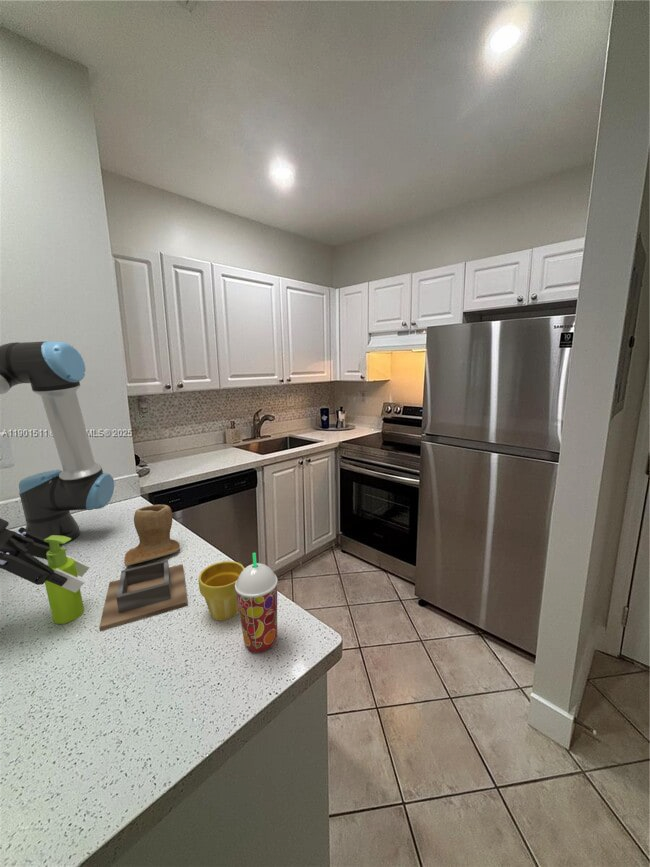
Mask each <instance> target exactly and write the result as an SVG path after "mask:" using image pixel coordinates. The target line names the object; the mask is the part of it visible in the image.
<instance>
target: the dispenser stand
mask: <svg viewBox="0 0 650 867" xmlns="http://www.w3.org/2000/svg"><path fill="white" fill-rule="evenodd" d="M184 572H185V571H184V564H178V565H173V566H170V565H169V560H168V559H166V560H161V561H157V562H153V563H147V564H144V565H141V566H140V565H139V566H135V567H131V568H128V569H127V568H126V569H123V570H121V571H120V577H119V579H116V580H112V581H109V584H108V587H107V593H106V596H105V599H104V600H105V601H104V605H103V610H102V614H101V618H100V622H99V626H98V627H99V628H98V629H99V632H101V631H105V630H108V629H109V630H110V629H111V628H115V627H118V626H122V625H125V624H130V623H132V622H136V621H139V619H140V620H143V619H145V618H149V617H153V616H157V615H160V614H163V613H166V612H170V611H174V610H177V609H180V608H184V607H186V606H187V607H188V600H187V599H188V598H187V590H186V582H185V581H186V580H185V573H184ZM142 618H143V619H142Z"/></svg>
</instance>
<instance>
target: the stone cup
mask: <svg viewBox="0 0 650 867" xmlns="http://www.w3.org/2000/svg"><path fill="white" fill-rule="evenodd" d="M133 524H134V529H135V530H136V533H137V536H138V540H139V542H138V545H137V546H135V547H133V548H129V549H128V550H127V551H126V552H125V555H124V560H123V561H124V566H125V567H129V566H132V565H136V564H140V563H144V562H148V561H152V560H155V559H159V558H162V557H165V556H168V555H171V554H174V553H176V552H178V551H179V550H180V548H181V547H180V543H179V541H177V540H175V539H172V538H171V529H172V527H173V526H172V525H173V512H172V508H171V507H170V506H169V505H167V504H153V505H152V504H151V505H147V506H142V507H139V508H138V509H136V510H135V512H134V515H133Z"/></svg>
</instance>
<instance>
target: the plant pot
mask: <svg viewBox="0 0 650 867" xmlns="http://www.w3.org/2000/svg"><path fill="white" fill-rule="evenodd" d="M245 568H246V567H245V566H244V565H243V564H242V563H241V562H237V561H234V560H233V561H232V560H227V561H226V560H224V561H219V562H218V561H217V562H215V563H212V564H210V565H208V566H207V567H205V568H204V569H203V570H202V571H201V572H200V573H199V575H198V588H199V593H200V595H201V597H203V598H204V600H205V603H206V606H207V609H208V612H209V614H210V617H211V618H212V619H213V620H216V621H226V620H230V619H232V618H234V617H235V616H236V615H238V613H239V608H238V602H237V596H236V590H235V583H236V581H237V580H238V577H239V575H240V573H241V572H242V571H243V570H244V569H245Z"/></svg>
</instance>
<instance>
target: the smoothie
mask: <svg viewBox="0 0 650 867" xmlns="http://www.w3.org/2000/svg"><path fill="white" fill-rule="evenodd" d="M244 568H245V569H244V570H243V571H242V572H241V573H240V575H239V577H238V580H237V581H236V583H235V590H236V596H237V602H238V608H239V612H238V613H239V618H240V620H239V621H240V626H241V631H242V637H243V642H244V644H245V645H246V647H247V648H248V650H250V651H252V652H253V653H262V652H267V651H268V650H269V649H271V648H272V646H274V644H275V642H276V640H277V638H278V580H279V579H278V577H277V575H276V573H275V572H274V571H273V569H271V568H270V567H269V566H268V565H266V564H264V563H260V562H257V552H252V564H250V565H247V566H246V567H244Z"/></svg>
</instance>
